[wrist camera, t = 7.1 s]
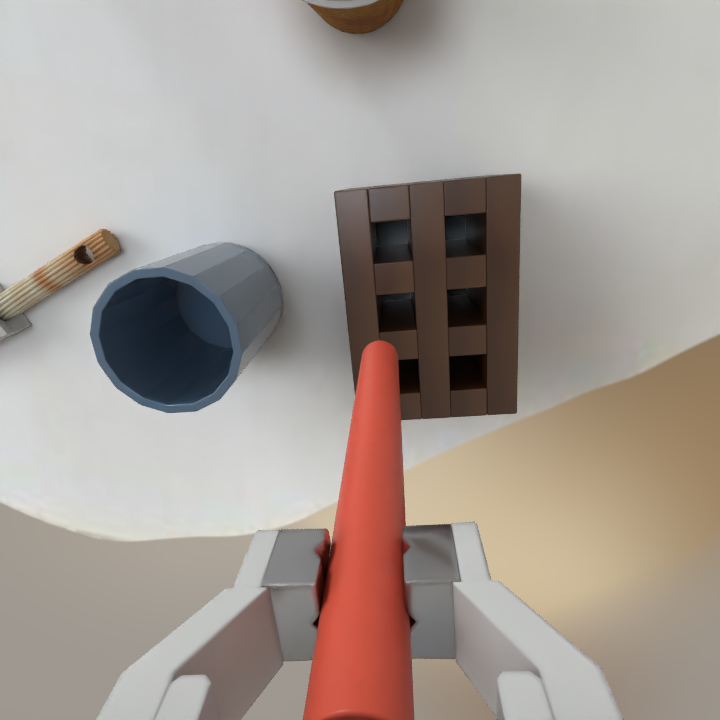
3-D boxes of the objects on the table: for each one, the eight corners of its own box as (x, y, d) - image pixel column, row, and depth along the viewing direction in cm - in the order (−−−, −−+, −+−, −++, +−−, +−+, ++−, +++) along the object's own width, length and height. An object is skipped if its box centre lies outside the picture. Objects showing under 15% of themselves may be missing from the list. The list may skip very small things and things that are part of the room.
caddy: (491, 174, 33) (521, 173, 25) (491, 367, 38) (517, 414, 30) (346, 188, 34) (333, 191, 26) (363, 375, 38) (357, 422, 31)
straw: (396, 338, 21) (412, 712, 6) (399, 373, 22) (418, 793, 7) (360, 341, 21) (291, 713, 6) (363, 375, 22) (306, 792, 7)
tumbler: (273, 237, 35) (225, 261, 25) (289, 346, 38) (252, 408, 28) (163, 247, 36) (71, 274, 25) (187, 353, 39) (113, 416, 28)
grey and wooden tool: (-129, 349, 36) (84, 217, 33) (-95, 339, 39) (105, 216, 36) (-91, 392, 38) (119, 268, 34) (-61, 379, 40) (137, 263, 37)
